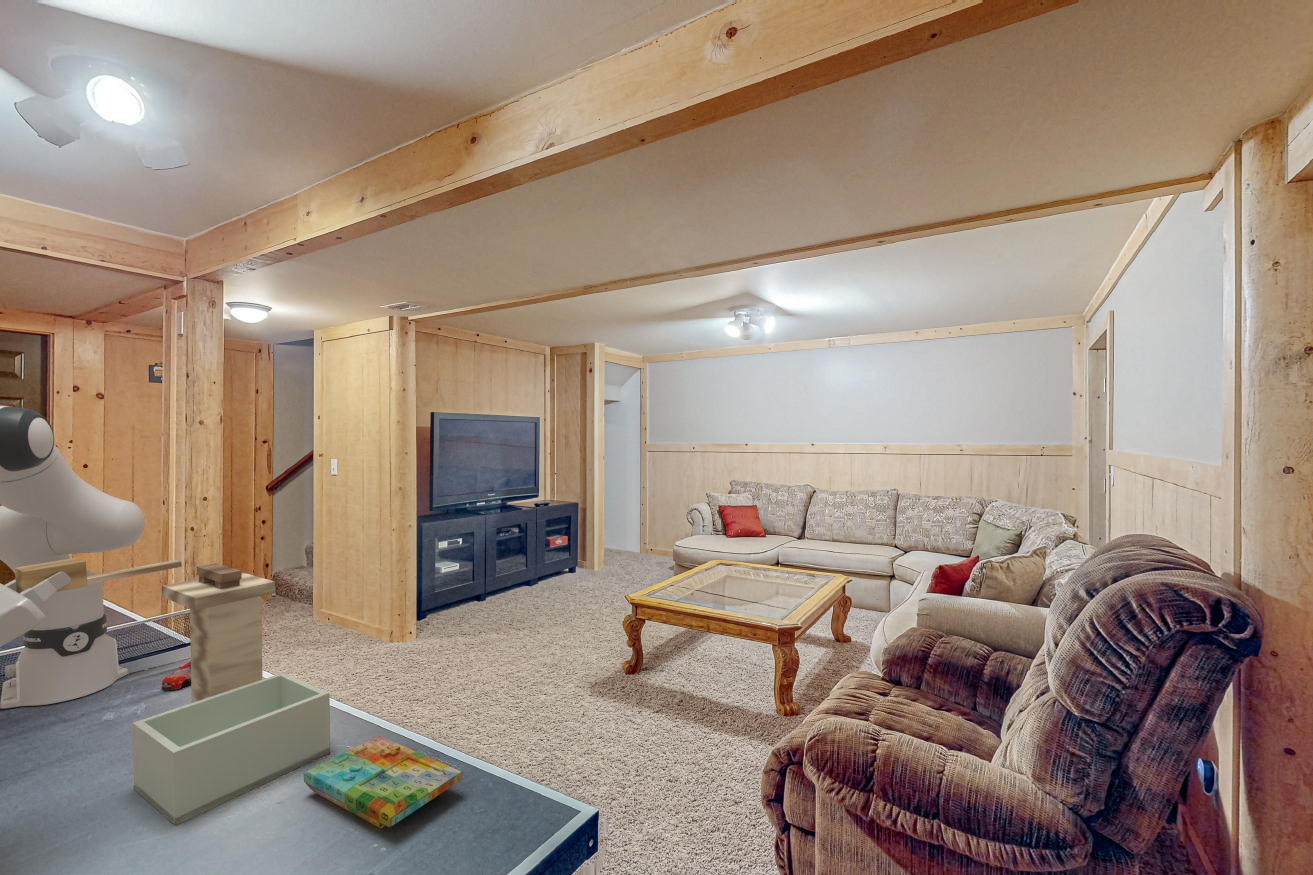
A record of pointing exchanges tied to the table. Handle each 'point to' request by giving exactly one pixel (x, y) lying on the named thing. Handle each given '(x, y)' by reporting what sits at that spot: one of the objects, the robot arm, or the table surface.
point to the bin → (228, 744)
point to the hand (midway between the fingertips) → (60, 572)
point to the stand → (222, 627)
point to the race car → (178, 678)
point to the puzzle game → (381, 780)
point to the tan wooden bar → (79, 573)
